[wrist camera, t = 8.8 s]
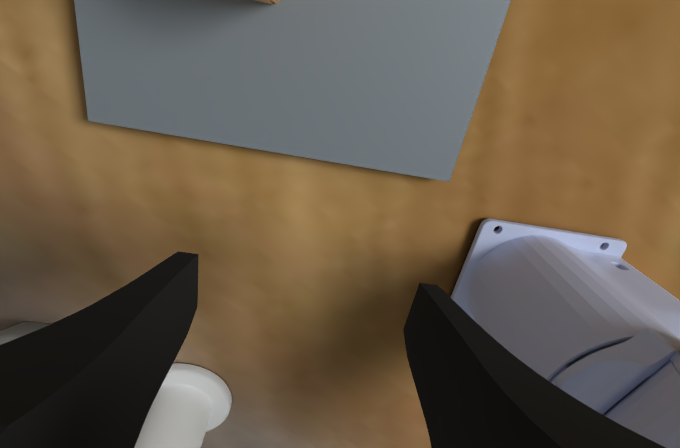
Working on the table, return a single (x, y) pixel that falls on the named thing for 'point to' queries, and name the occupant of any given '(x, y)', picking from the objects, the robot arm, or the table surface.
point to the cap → (268, 1)
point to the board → (295, 74)
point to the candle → (185, 408)
